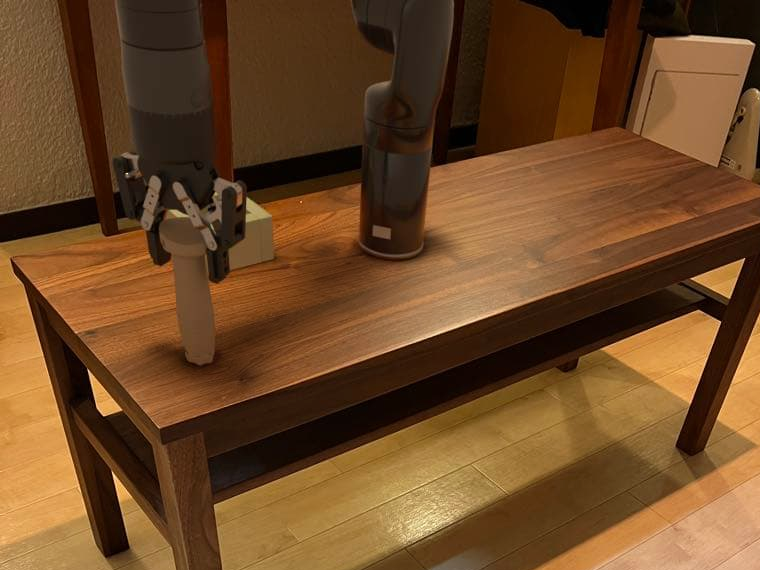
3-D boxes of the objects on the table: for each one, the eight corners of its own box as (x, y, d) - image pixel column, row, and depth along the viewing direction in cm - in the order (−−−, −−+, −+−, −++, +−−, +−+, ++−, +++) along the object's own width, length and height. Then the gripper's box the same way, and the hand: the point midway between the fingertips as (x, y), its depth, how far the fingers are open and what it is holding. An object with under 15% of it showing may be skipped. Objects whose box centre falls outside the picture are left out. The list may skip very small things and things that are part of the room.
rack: (234, 227, 115) (231, 185, 111) (274, 259, 109) (272, 215, 105) (163, 243, 110) (157, 200, 105) (201, 278, 104) (196, 233, 100)
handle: (191, 378, 88) (174, 248, 78) (169, 349, 92) (150, 221, 81) (232, 367, 90) (221, 239, 80) (209, 340, 94) (195, 213, 83)
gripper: (261, 102, 72) (268, 275, 84) (130, 70, 76) (155, 240, 88) (213, 126, 67) (228, 305, 79) (76, 89, 71) (110, 267, 83)
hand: (190, 270), depth 83 cm, fingers closed on handle, 6 cm apart
